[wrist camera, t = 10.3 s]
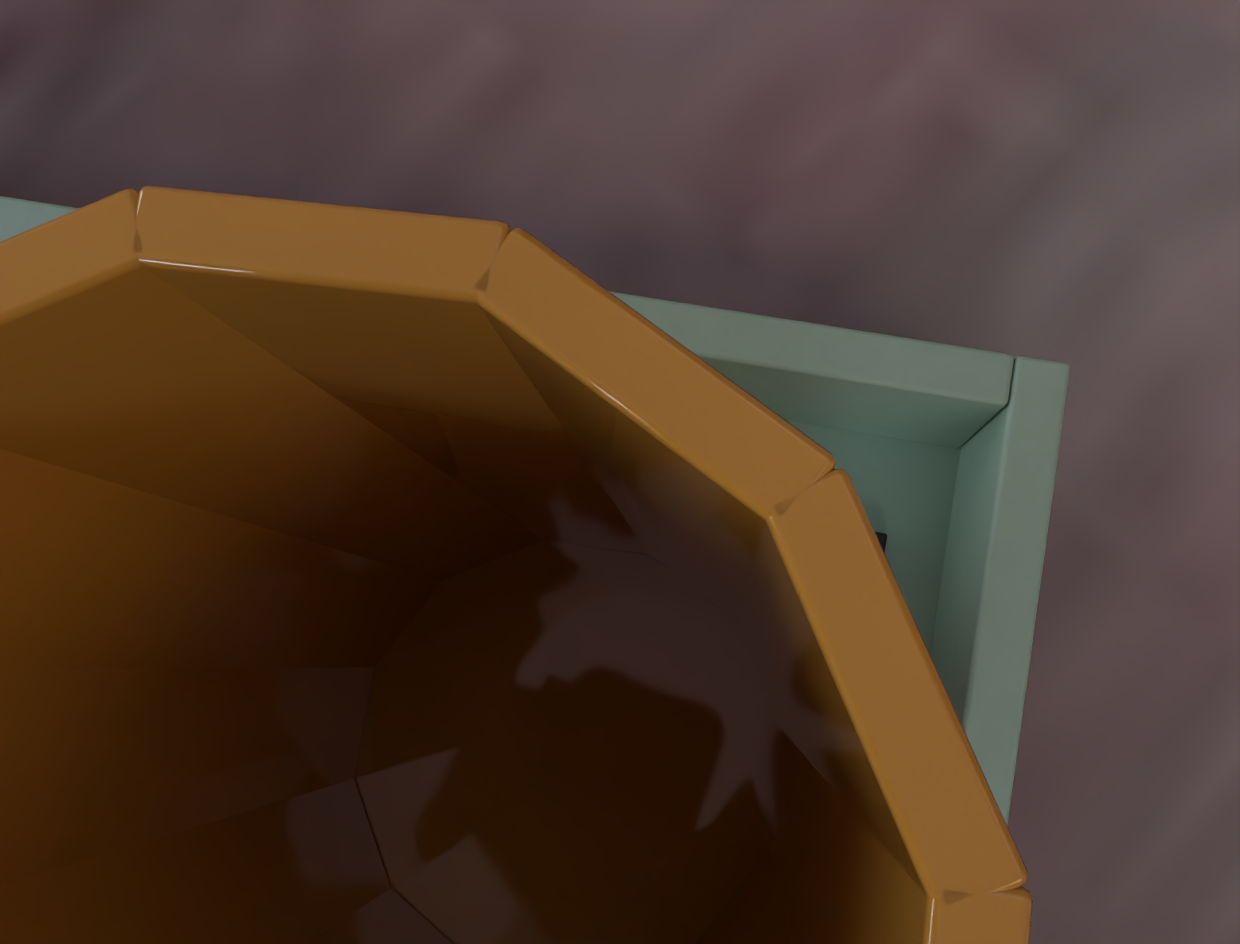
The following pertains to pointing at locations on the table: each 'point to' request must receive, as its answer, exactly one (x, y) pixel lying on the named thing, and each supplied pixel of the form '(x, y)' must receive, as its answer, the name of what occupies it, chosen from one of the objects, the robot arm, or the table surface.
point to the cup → (439, 612)
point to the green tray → (902, 475)
